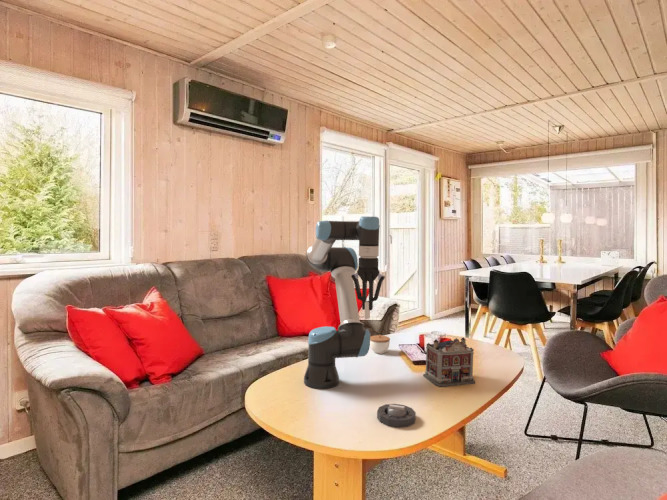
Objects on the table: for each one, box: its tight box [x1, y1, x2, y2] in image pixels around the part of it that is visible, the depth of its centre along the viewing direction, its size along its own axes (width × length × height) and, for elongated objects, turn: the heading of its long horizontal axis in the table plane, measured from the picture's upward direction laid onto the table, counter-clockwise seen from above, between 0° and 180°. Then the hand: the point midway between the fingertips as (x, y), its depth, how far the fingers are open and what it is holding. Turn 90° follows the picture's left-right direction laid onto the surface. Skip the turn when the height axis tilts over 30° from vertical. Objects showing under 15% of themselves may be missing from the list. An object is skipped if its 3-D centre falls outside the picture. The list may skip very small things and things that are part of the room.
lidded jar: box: [369, 334, 391, 355], centre depth 230 cm, size 11×11×9 cm
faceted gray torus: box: [376, 403, 417, 429], centre depth 151 cm, size 13×13×2 cm
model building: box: [422, 337, 477, 388], centre depth 190 cm, size 19×14×20 cm
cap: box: [387, 403, 406, 417], centre depth 151 cm, size 6×6×5 cm
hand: (367, 318), depth 165 cm, fingers closed
